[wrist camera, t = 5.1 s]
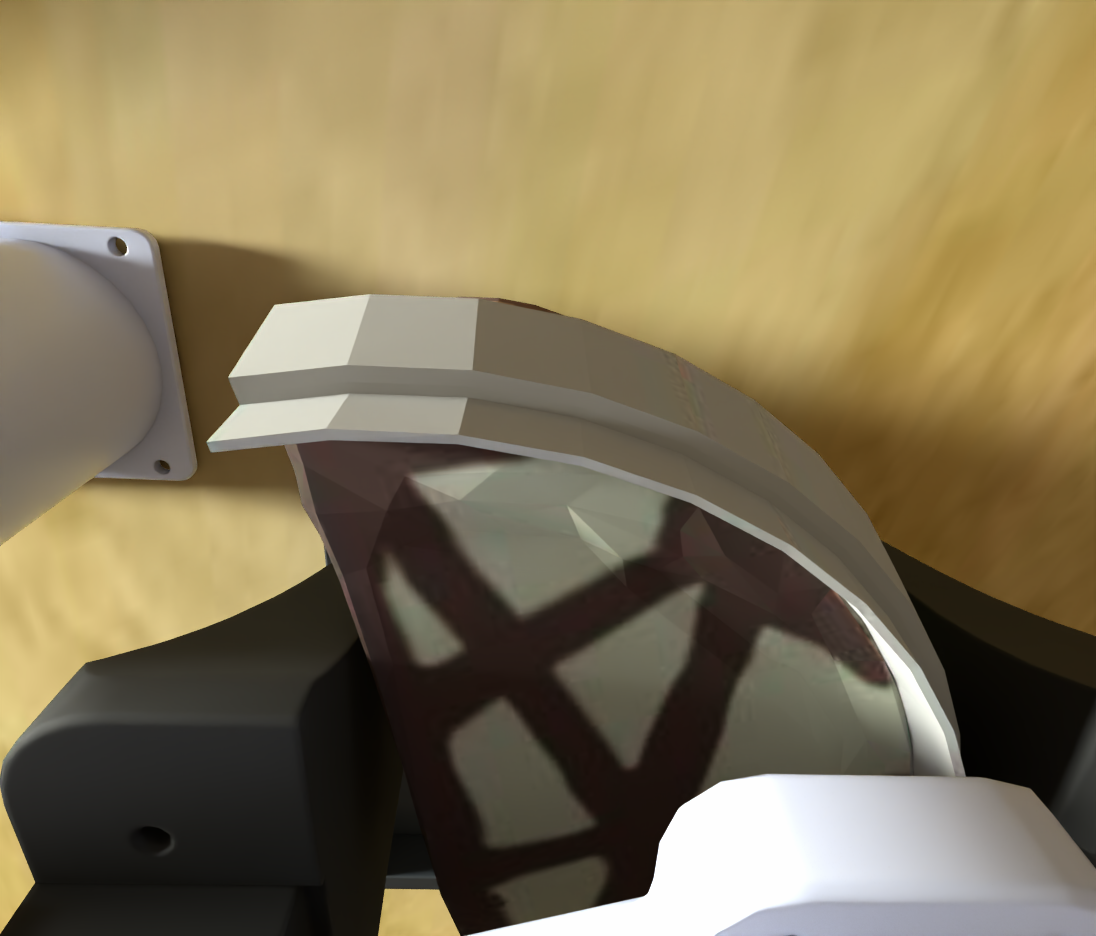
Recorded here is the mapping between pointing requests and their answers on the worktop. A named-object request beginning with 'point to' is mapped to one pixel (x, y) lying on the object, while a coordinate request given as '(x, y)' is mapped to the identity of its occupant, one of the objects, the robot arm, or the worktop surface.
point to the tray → (407, 843)
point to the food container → (582, 585)
